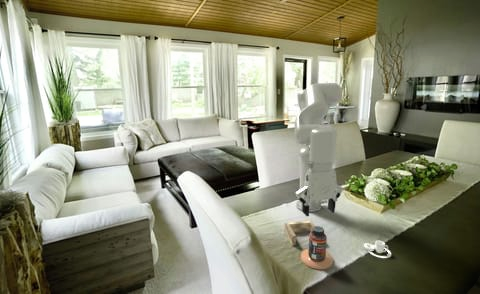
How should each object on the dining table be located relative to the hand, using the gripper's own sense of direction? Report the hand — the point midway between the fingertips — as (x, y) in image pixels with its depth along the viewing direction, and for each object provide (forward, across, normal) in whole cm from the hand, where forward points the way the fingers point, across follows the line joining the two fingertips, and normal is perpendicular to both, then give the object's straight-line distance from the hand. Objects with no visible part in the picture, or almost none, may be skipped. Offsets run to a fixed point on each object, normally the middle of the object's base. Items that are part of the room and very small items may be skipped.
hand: (318, 212), depth 89 cm
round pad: (+18, 0, -1) cm, 18 cm away
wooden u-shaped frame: (+18, +1, +13) cm, 23 cm away
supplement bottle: (+18, 0, -1) cm, 18 cm away
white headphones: (+19, +25, 0) cm, 32 cm away
